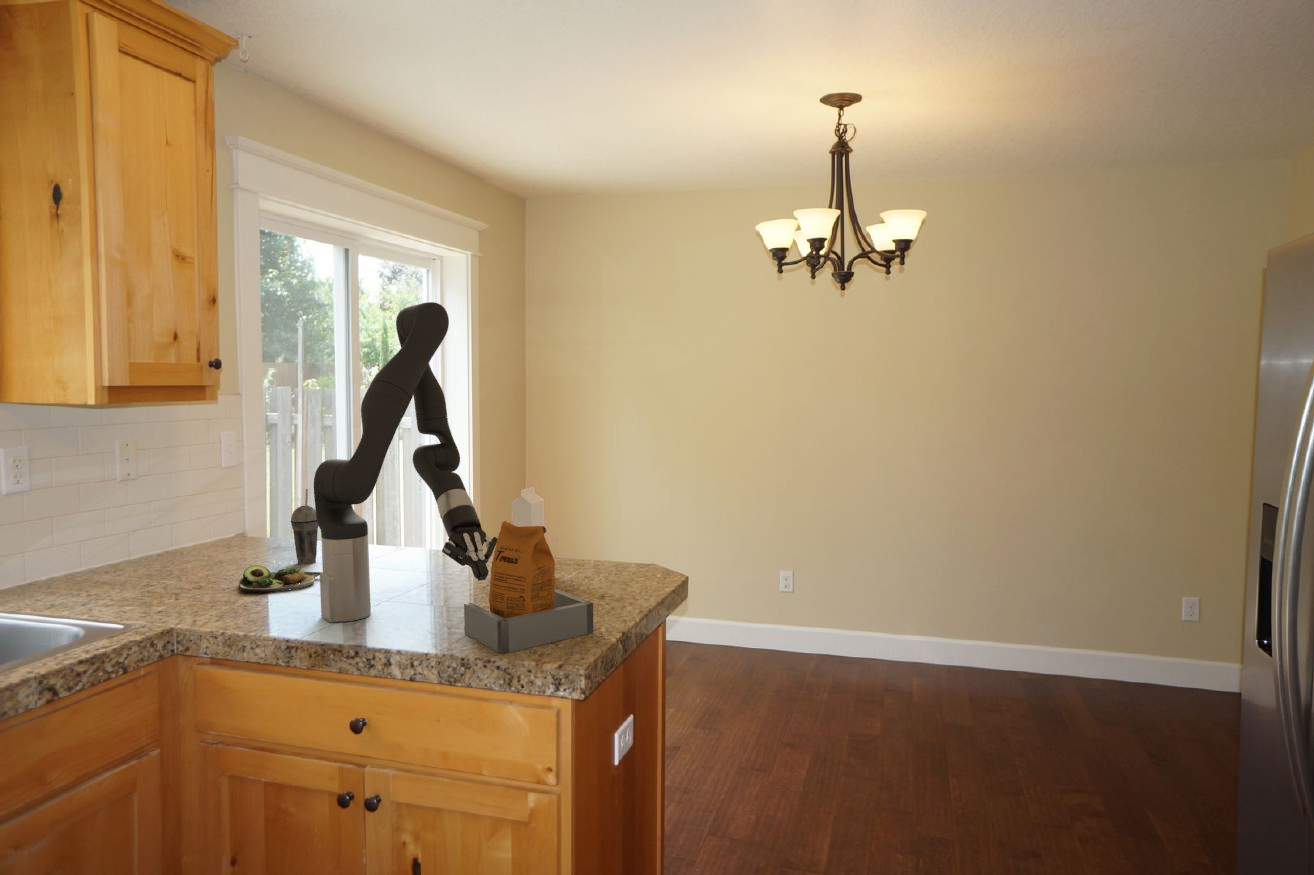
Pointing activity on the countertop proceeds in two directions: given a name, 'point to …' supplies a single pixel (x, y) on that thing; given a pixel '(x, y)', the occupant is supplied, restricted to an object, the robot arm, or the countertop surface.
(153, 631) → the countertop surface
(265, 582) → the salad plate
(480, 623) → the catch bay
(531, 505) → the milk
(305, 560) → the beverage cup
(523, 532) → the coffee package
